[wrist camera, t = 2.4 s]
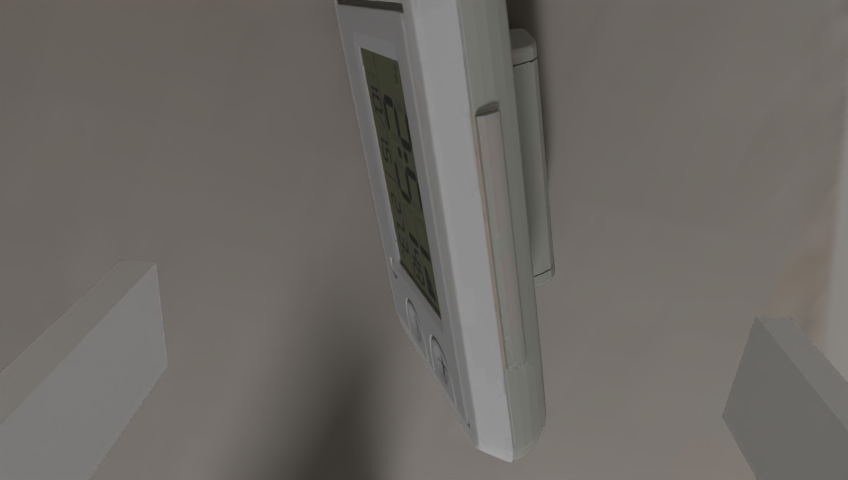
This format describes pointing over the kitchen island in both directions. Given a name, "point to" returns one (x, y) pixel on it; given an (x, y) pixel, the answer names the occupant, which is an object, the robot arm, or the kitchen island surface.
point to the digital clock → (459, 198)
